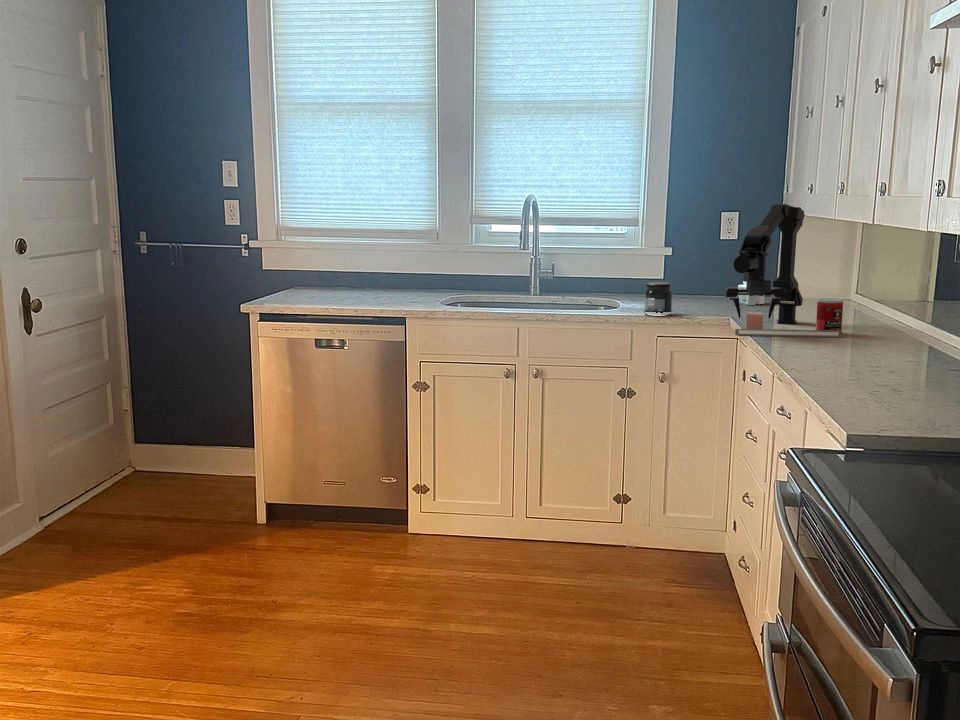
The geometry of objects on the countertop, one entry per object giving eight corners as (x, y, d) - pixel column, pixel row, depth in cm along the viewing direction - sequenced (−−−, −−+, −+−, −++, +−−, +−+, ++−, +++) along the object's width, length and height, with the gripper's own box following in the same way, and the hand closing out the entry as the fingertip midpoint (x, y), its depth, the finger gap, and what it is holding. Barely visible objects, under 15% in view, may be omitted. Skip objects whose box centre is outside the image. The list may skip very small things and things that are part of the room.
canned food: (826, 336, 280) (827, 301, 278) (810, 332, 288) (812, 298, 286) (846, 334, 282) (848, 300, 280) (830, 331, 290) (832, 297, 288)
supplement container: (670, 312, 340) (671, 281, 338) (673, 316, 330) (674, 284, 327) (642, 313, 341) (643, 281, 339) (644, 316, 331) (645, 284, 328)
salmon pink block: (746, 333, 289) (746, 315, 288) (745, 330, 296) (745, 312, 295) (762, 334, 288) (763, 315, 287) (761, 330, 295) (762, 312, 294)
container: (736, 303, 362) (738, 272, 360) (753, 302, 365) (754, 271, 362) (747, 306, 355) (749, 273, 353) (764, 304, 357) (765, 272, 355)
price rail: (735, 334, 286) (735, 328, 286) (841, 336, 278) (841, 330, 278) (735, 335, 285) (735, 329, 285) (841, 337, 277) (842, 331, 277)
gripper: (726, 273, 283) (725, 321, 286) (788, 273, 278) (786, 322, 281) (726, 270, 293) (724, 316, 296) (785, 270, 289) (783, 317, 292)
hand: (754, 318), depth 291 cm, fingers open, 9 cm apart
